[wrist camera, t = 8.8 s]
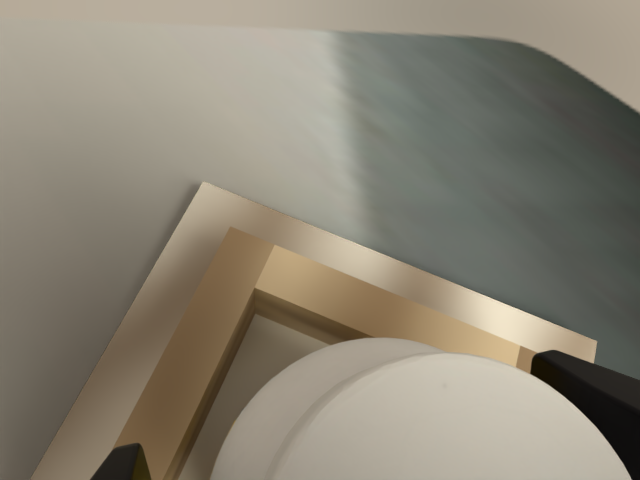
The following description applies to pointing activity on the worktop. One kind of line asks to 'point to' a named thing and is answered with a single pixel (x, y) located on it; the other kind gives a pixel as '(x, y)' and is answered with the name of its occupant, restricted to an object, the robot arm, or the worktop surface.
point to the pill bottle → (411, 421)
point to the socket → (261, 332)
